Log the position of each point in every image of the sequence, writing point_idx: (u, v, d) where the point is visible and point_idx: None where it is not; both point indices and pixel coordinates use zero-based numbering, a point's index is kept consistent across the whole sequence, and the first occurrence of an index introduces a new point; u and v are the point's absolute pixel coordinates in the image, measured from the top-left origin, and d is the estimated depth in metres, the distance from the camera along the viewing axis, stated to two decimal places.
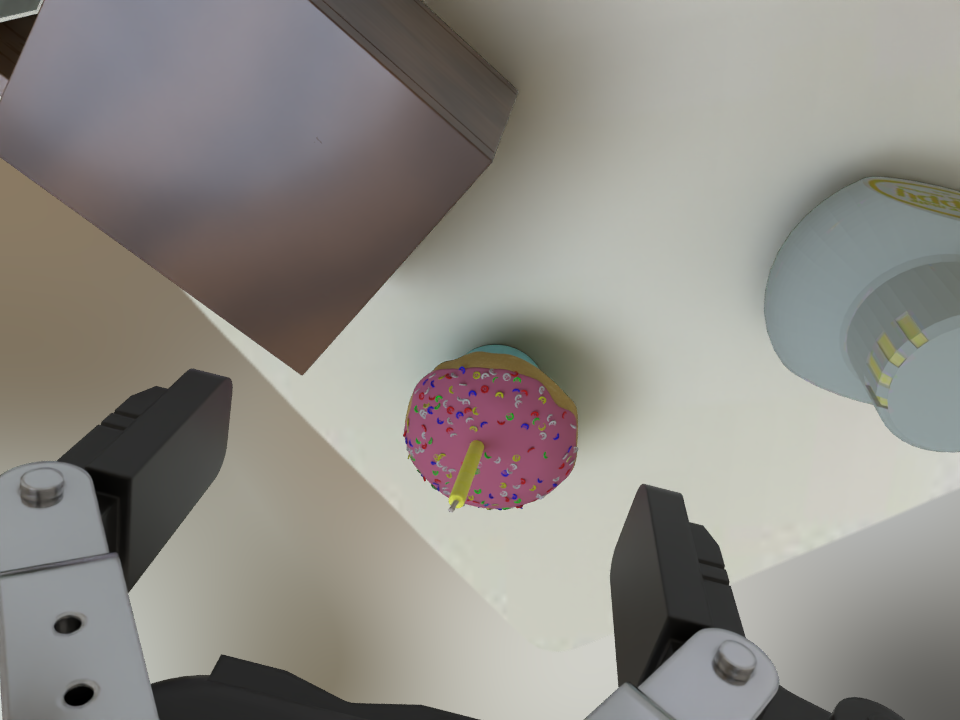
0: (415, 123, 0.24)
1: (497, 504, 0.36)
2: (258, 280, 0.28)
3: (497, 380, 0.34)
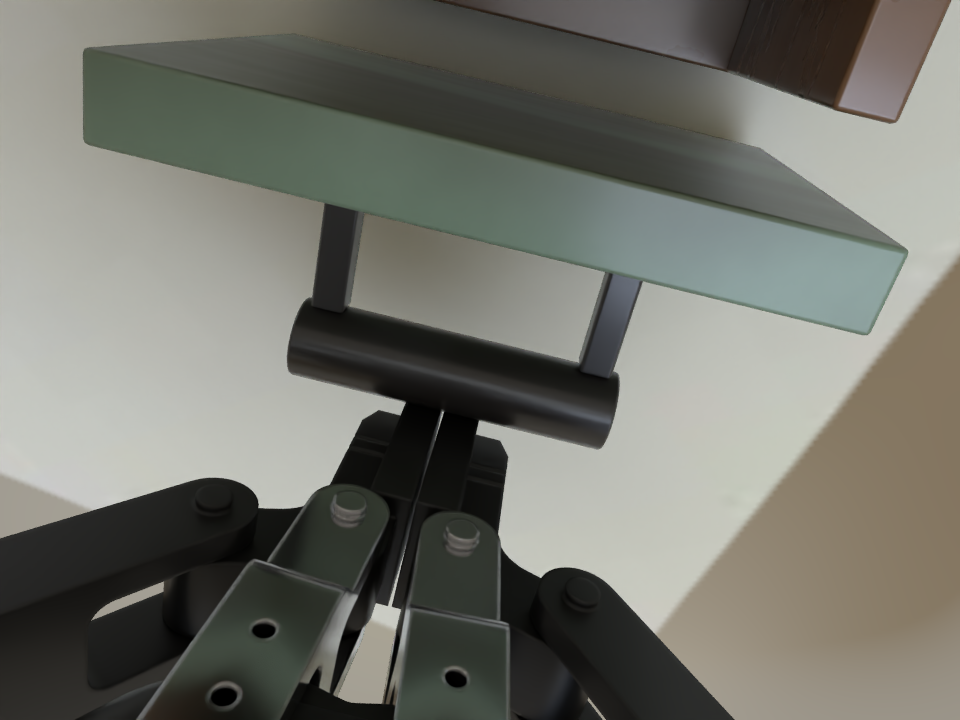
0: None
1: None
2: None
3: None
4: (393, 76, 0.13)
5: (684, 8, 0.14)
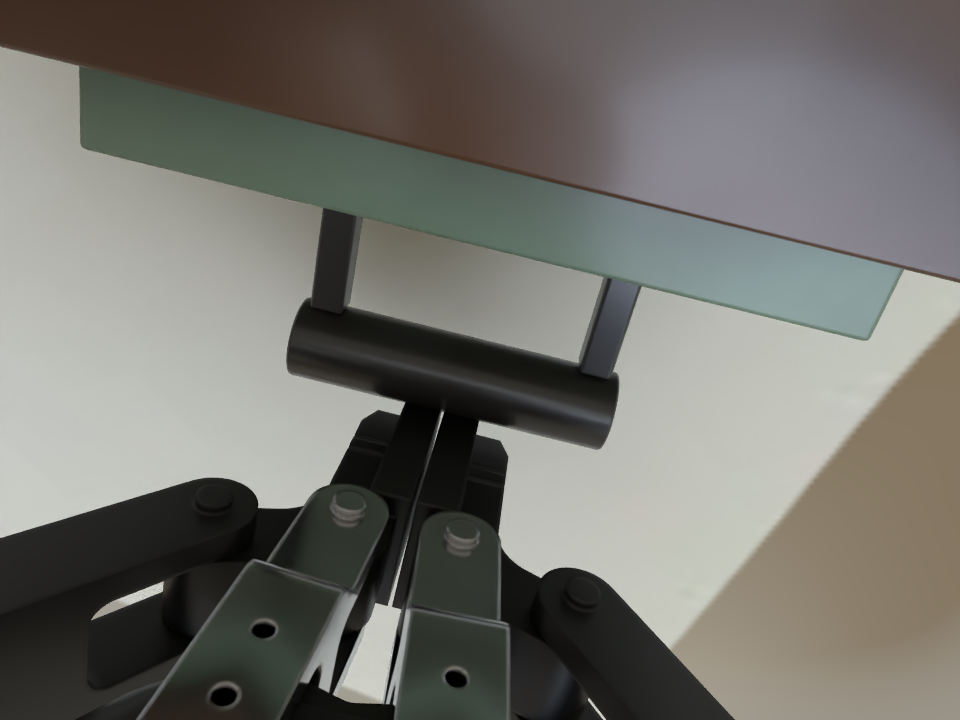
0: None
1: None
2: None
3: None
4: None
5: None
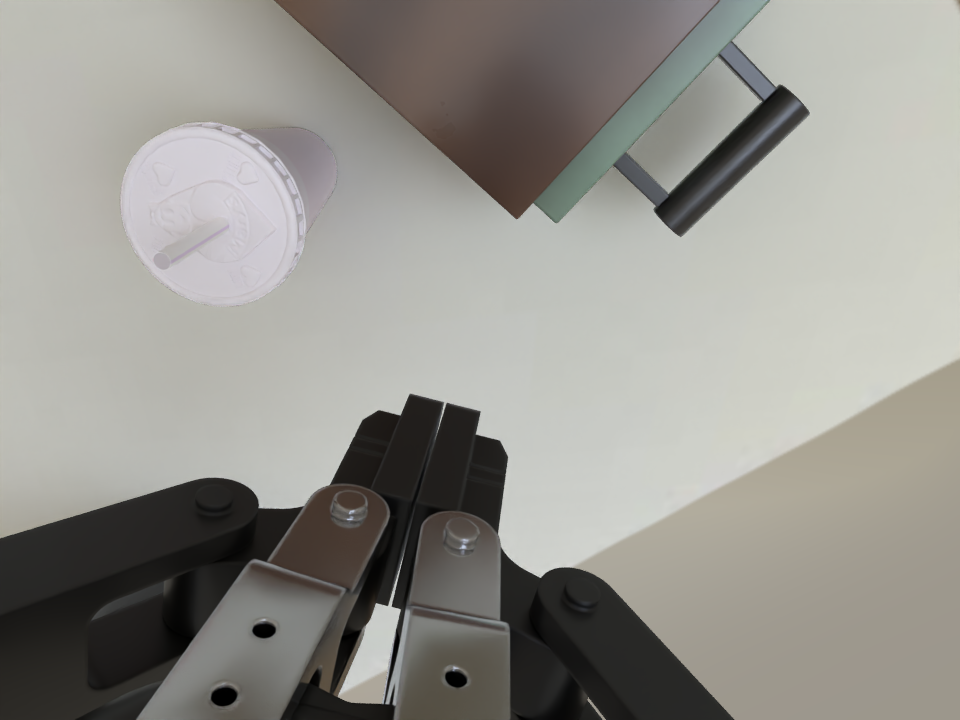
0: None
1: None
2: None
3: None
4: None
5: None
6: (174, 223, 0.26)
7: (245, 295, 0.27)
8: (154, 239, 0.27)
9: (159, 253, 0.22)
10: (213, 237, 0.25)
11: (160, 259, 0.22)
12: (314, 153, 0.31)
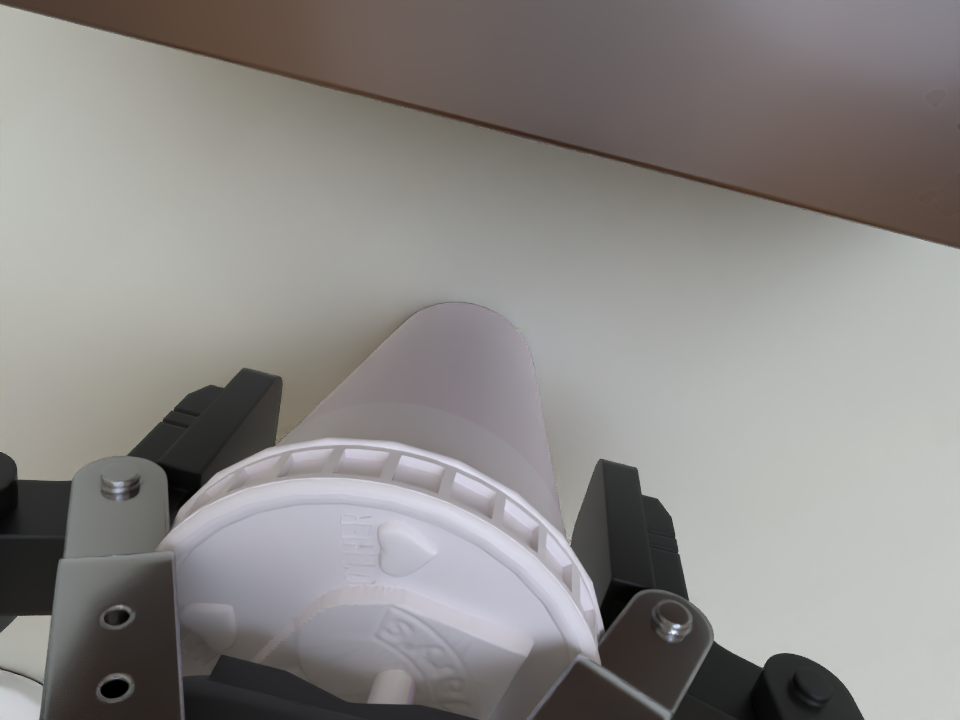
0: None
1: None
2: None
3: None
4: None
5: None
6: None
7: None
8: None
9: None
10: None
11: None
12: (489, 350, 0.15)
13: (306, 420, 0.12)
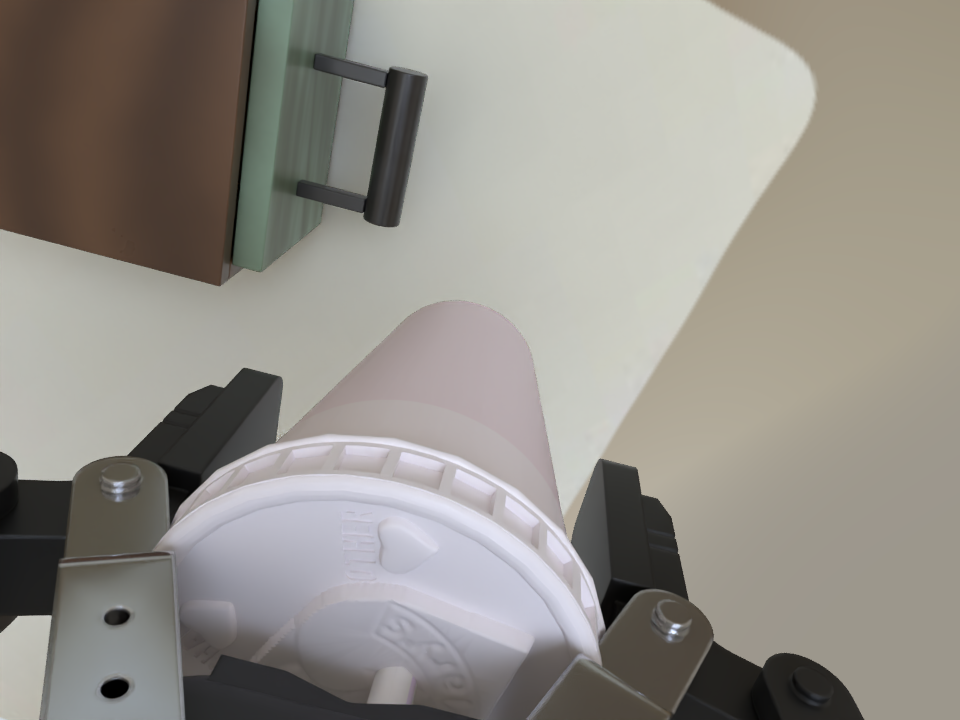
0: None
1: None
2: None
3: None
4: None
5: None
6: None
7: None
8: None
9: None
10: None
11: None
12: (489, 348, 0.15)
13: (306, 417, 0.12)
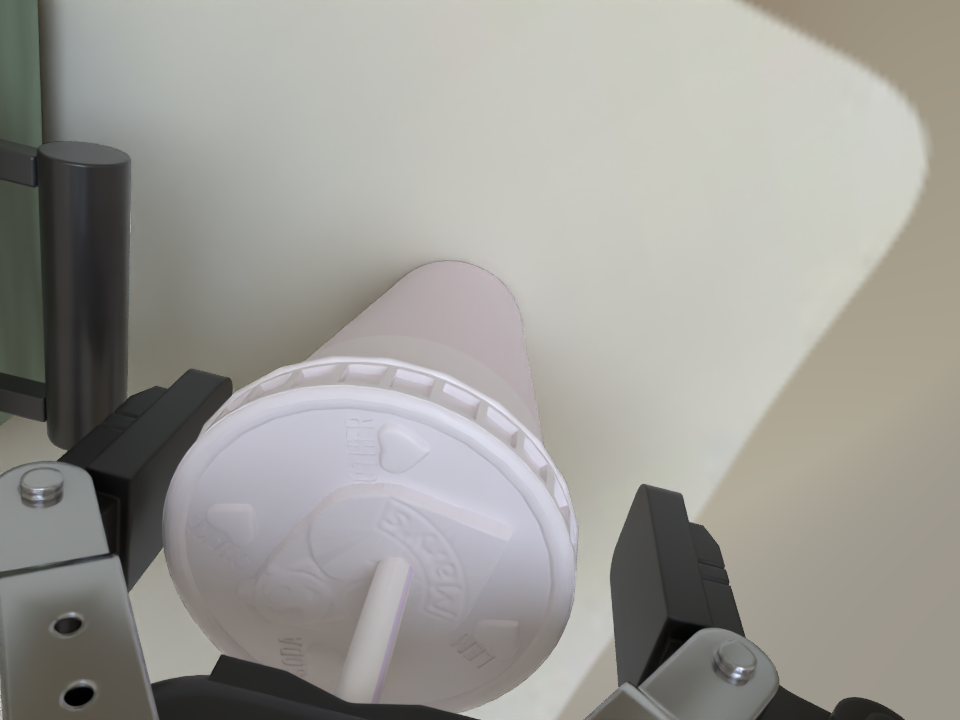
0: None
1: None
2: None
3: None
4: None
5: None
6: (302, 608, 0.12)
7: (505, 676, 0.12)
8: (280, 644, 0.12)
9: None
10: (395, 636, 0.10)
11: None
12: (477, 299, 0.16)
13: (312, 355, 0.13)
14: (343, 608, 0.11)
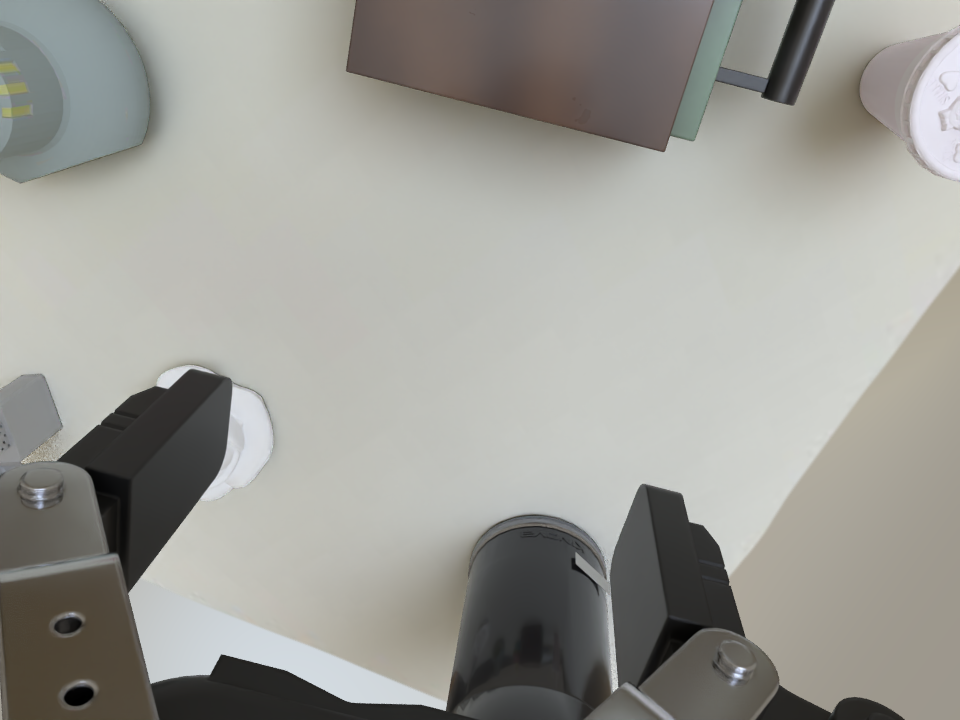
0: (410, 68, 0.31)
1: None
2: None
3: None
4: None
5: None
6: None
7: None
8: (945, 144, 0.30)
9: None
10: None
11: None
12: None
13: (934, 39, 0.31)
14: None
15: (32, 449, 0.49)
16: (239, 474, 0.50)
